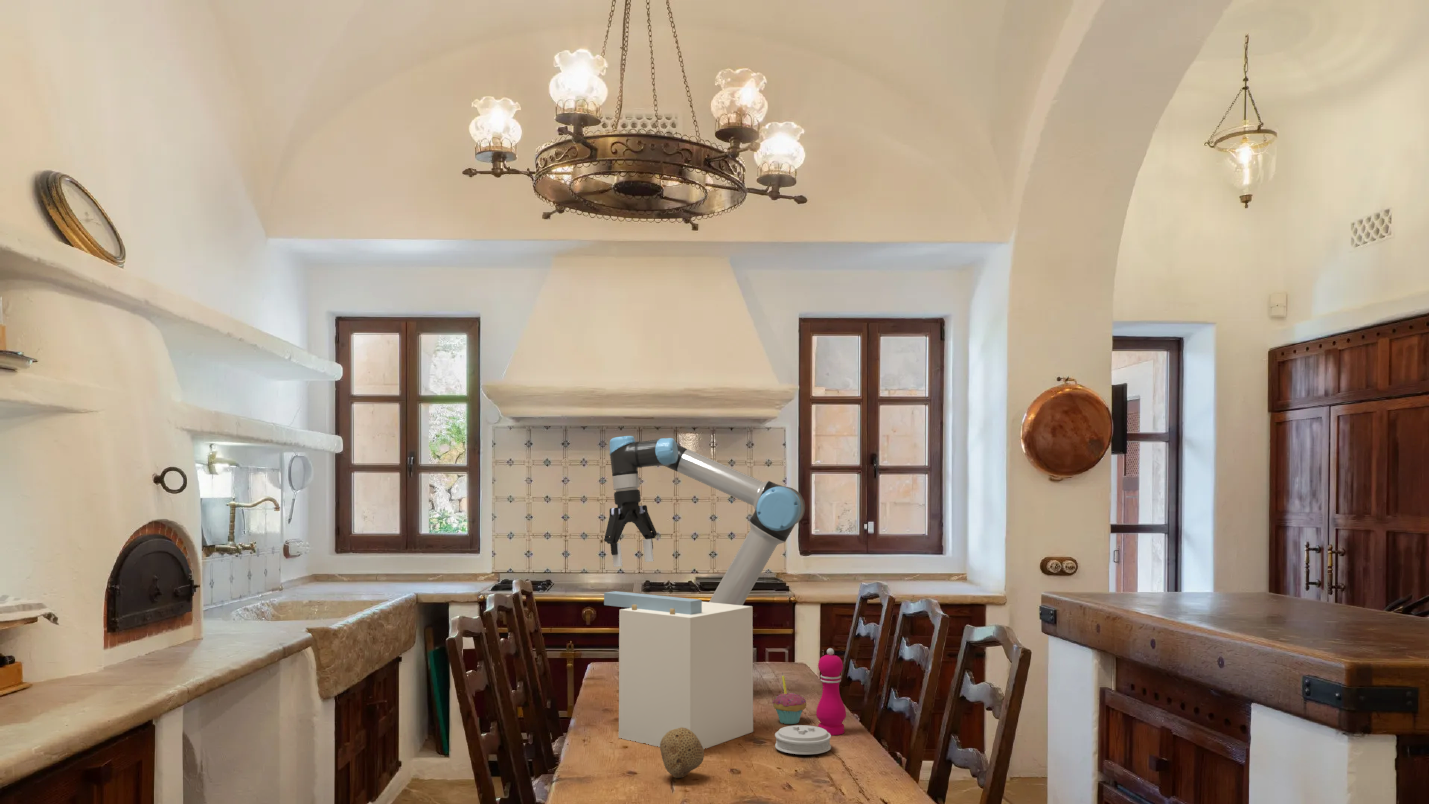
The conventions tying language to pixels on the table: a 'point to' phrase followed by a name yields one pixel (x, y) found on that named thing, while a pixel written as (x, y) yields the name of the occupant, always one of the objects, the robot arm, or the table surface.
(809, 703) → the table surface
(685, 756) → the natural sponge
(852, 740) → the table surface
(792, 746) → the lid
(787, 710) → the cupcake
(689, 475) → the robot arm
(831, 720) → the pepper mill
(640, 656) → the plinth
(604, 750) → the table surface
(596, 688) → the table surface
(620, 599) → the batten
